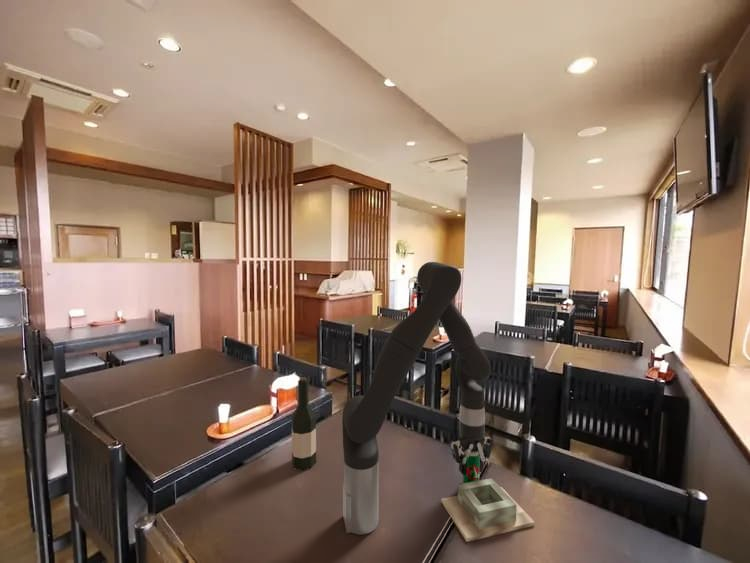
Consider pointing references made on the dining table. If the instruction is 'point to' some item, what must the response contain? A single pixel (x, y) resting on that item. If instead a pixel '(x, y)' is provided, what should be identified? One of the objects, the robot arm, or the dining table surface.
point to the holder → (485, 510)
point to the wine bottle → (303, 430)
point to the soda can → (472, 467)
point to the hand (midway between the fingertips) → (471, 472)
